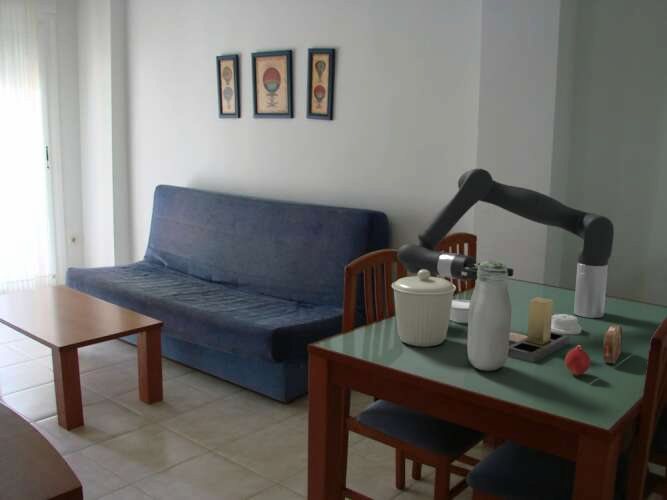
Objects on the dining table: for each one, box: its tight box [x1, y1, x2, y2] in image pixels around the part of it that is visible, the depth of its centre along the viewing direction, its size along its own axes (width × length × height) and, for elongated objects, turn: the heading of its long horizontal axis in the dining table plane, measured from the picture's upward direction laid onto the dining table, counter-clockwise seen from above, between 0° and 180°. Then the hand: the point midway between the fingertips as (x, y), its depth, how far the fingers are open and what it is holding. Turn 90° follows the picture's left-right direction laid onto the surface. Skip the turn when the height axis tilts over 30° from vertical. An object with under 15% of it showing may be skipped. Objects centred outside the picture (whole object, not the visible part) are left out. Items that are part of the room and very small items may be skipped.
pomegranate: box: [564, 344, 591, 377], centre depth 158 cm, size 6×6×8 cm
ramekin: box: [449, 299, 470, 324], centre depth 206 cm, size 11×11×5 cm
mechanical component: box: [551, 313, 582, 335], centre depth 195 cm, size 10×4×10 cm
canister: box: [391, 269, 457, 348], centre depth 182 cm, size 18×18×21 cm
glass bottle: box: [467, 260, 512, 372], centre depth 160 cm, size 10×10×28 cm
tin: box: [603, 324, 623, 365], centre depth 170 cm, size 15×3×8 cm, turn 148°
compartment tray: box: [507, 331, 570, 364], centre depth 177 cm, size 22×8×2 cm, turn 137°
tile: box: [509, 331, 528, 343], centre depth 187 cm, size 7×7×1 cm
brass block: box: [527, 296, 554, 346], centre depth 176 cm, size 4×4×14 cm
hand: (505, 275), depth 181 cm, fingers open, 8 cm apart
